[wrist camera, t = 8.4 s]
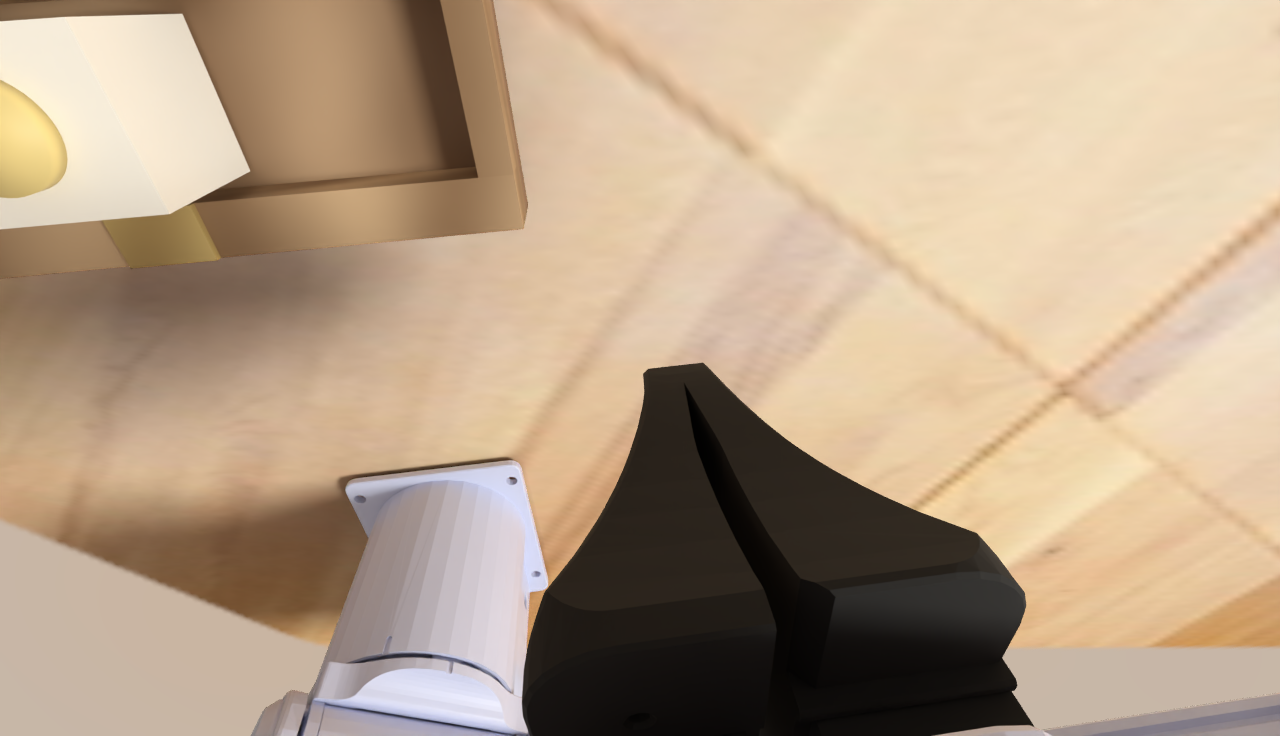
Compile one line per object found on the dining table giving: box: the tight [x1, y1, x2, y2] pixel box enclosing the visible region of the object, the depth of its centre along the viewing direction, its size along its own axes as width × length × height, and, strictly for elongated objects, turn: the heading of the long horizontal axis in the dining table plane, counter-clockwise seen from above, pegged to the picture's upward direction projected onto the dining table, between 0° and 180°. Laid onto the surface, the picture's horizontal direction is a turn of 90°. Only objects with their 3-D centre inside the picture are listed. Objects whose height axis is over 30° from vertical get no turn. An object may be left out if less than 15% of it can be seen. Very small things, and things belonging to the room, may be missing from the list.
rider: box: [0, 14, 250, 229], centre depth 13 cm, size 5×4×4 cm
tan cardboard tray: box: [0, 0, 528, 279], centre depth 16 cm, size 15×8×4 cm, turn 93°
